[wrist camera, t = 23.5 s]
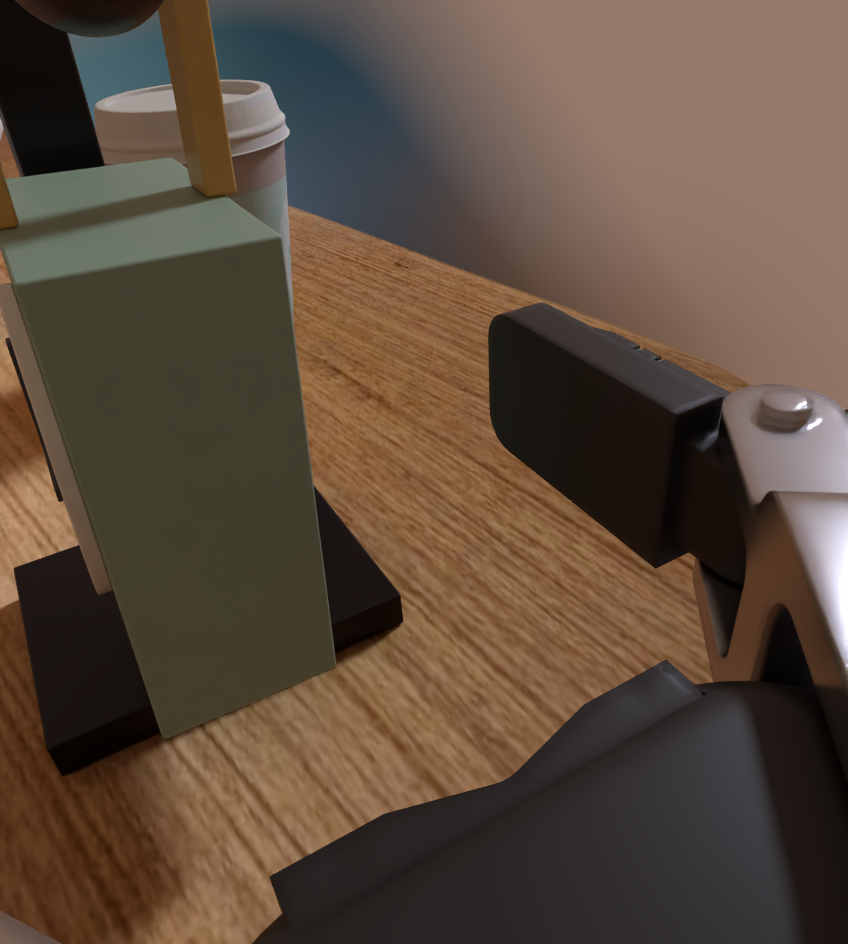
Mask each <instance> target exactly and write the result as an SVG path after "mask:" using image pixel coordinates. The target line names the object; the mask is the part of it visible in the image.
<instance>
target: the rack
mask: <svg viewBox="0 0 848 944" xmlns="http://www.w3.org/2000/svg"><path fill="white" fill-rule="evenodd" d="M163 1H164V0H0V119H1V121H2V124H3V127H4V130H5V133H6V136H7V139H8V141H9V144H10V147H11V150H12V153H13V156H14V159H15V162H16V164H17V167H18V170H19V173H20V176H21V177H26V176H34V175H41V174H49V173H57V172H64V171H72V170H80V169H87V168H95V167H102V166H105V163H104V159H103V156H102V152H101V149H100V145H99V142H98V138H97V135H96V131H95V128H94V124H93V121H92V117H91V114H90V111H89V107H88V103H87V100H86V97H85V93H84V89H83V86H82V82H81V79H80V75H79V72H78V68H77V65H76V61H75V58H74V54H73V51H72V48H71V44H70V41H69V37H68V33H71V34H75V35H80V36H86V37H109V36H115V35H119V34H122V33H125V32H128V31H130V30H132V29H134V28H136V27H138V26H140V25H141V24H142V23H144V22H145V21H146V20H148V19H149V18H150V17H151V16H152V15H153V14H154V13H155V12H156V11H157V10H158V8H159V7H160V5H161V4H162V3H163ZM314 493H315V501H316V509H317V517H318V525H319V532H320V540H321V548H322V556H323V564H324V572H325V580H326V588H327V596H328V603H329V611H330V619H331V627H332V635H333V643H334V651H335V653H336V652H339V651H341V650H343V649H345V648H347V647H350V646H352V645H354V644H356V643H358V642H361V641H363V640H365V639H367V638H369V637H372V636H374V635H376V634H378V633H381V632H383V631H385V630H387V629H389V628H392V627H394V626H396V625H398V624H400V623H402V622H403V615H402V606H401V597H400V594H399V592H398V591H397V590H396V589H395V587H394V586H393V585H392V583H391V582H390V581H389V580H388V578H387V577H386V576H385V575H384V573H383V572H382V571H381V570H380V568H379V567H378V566H377V565H376V563H375V562H374V561H373V559H372V558H371V557H370V556H369V554H368V553H367V552H366V551H365V549H364V548H363V547H362V546H361V544H360V543H359V542H358V541H357V539H356V538H355V537H354V535H353V534H352V533H351V532H350V530H349V529H348V528H347V527H346V525H345V524H344V523H343V522H342V520H341V519H340V518H339V517H338V515H337V514H336V513H335V511H334V510H333V509H332V508H331V506H330V505H329V504H328V503H327V501H326V500H325V499H324V498H323V496H322V495H321V494H320V493H319V491H318V490H317V489H316V488H315V486H314ZM14 575H15V580H16V585H17V591H18V596H19V602H20V607H21V613H22V618H23V624H24V629H25V635H26V640H27V645H28V651H29V656H30V662H31V667H32V673H33V678H34V684H35V689H36V695H37V700H38V705H39V711H40V716H41V722H42V727H43V733H44V738H45V744H46V749H47V751H48V753H49V754H50V756H51V758H52V760H53V762H54V763H55V765H56V767H57V769H58V771H59V772H60V774H61V775H62V776H65V775H67V774H69V773H72V772H74V771H76V770H78V769H80V768H83V767H85V766H87V765H89V764H91V763H94V762H96V761H98V760H100V759H102V758H105V757H107V756H109V755H111V754H114V753H116V752H118V751H120V750H122V749H125V748H127V747H129V746H131V745H133V744H136V743H138V742H140V741H142V740H144V739H147V738H149V737H151V736H153V735H155V734H158V733H160V729H159V726H158V723H157V720H156V717H155V714H154V711H153V708H152V705H151V702H150V699H149V696H148V693H147V690H146V687H145V684H144V681H143V678H142V675H141V672H140V669H139V666H138V663H137V660H136V657H135V654H134V651H133V648H132V645H131V642H130V639H129V636H128V633H127V630H126V627H125V624H124V621H123V618H122V615H121V612H120V609H119V606H118V603H117V600H116V597H115V594H114V591H113V590H112V591H109V592H106V593H103V594H100V595H99V594H98V593H97V592H96V589H95V587H94V584H93V582H92V579H91V576H90V574H89V571H88V568H87V565H86V563H85V560H84V557H83V554H82V552H81V549H80V546H79V545H78V546H75V547H72V548H69V549H66V550H64V551H61V552H58V553H55V554H52V555H49V556H46V557H44V558H41V559H38V560H35V561H32V562H29V563H27V564H24V565H21V566H18V567H15V568H14Z"/></svg>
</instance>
